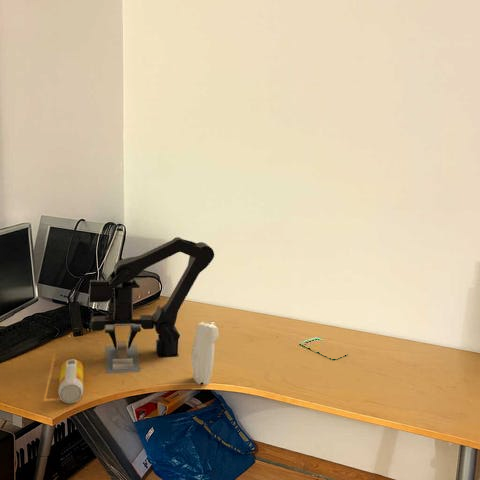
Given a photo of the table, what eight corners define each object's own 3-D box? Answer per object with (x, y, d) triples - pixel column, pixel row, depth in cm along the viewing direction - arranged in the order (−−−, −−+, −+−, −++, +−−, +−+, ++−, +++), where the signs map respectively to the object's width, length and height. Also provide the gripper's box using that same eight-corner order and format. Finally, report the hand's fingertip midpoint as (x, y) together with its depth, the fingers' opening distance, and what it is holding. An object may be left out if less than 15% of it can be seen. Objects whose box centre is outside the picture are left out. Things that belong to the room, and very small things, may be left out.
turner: (112, 349, 162) (112, 341, 162) (131, 348, 164) (131, 340, 163) (112, 369, 148) (112, 361, 148) (133, 368, 150) (133, 360, 149)
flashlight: (216, 377, 149) (191, 375, 149) (220, 320, 146) (195, 318, 146) (214, 388, 143) (188, 385, 143) (218, 328, 139) (192, 326, 139)
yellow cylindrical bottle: (62, 380, 142) (60, 407, 128) (58, 360, 140) (56, 386, 126) (84, 375, 144) (84, 401, 130) (81, 356, 142) (81, 380, 128)
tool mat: (136, 346, 167) (136, 344, 167) (140, 373, 148) (140, 371, 148) (105, 347, 165) (105, 346, 164) (105, 375, 146) (105, 373, 145)
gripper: (151, 292, 164) (150, 337, 167) (92, 293, 159) (92, 339, 162) (154, 303, 154) (153, 351, 157) (91, 304, 149) (91, 353, 152)
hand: (122, 348), depth 157 cm, fingers open, 4 cm apart
